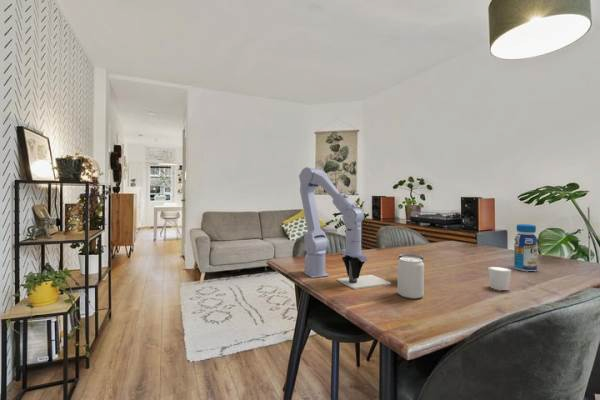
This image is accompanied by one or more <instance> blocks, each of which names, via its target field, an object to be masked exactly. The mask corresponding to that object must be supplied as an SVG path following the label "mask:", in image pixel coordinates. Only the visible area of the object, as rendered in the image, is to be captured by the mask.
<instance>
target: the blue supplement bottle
mask: <svg viewBox="0 0 600 400" xmlns="http://www.w3.org/2000/svg"><path fill="white" fill-rule="evenodd" d="M536 229H537V227H536V225H535V224H530V223H529V224H525V223H521V224H520V223H519V224H518V223H517V224H516V233H517V234H516V235H515V237H514V241H515V243H514V244H513V247H514V248H513V249H514V250H513V251H514V254H513V255H514V257H513V261H514V262H513V268H514V269H515V270H518V271H522V272H528V271H535V272H537V271H538V249H539V247H538V238H537V236H536V235H535V234H536V232H537V231H536Z"/></svg>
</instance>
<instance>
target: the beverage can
mask: <svg viewBox="0 0 600 400" xmlns="http://www.w3.org/2000/svg"><path fill="white" fill-rule="evenodd" d="M399 259H400V260H399ZM424 285H425V263H424V261H423V262H422V259H420V258H415V257H401V258H399V257H398V261H397V294H398V295H400V296H401V297H403V298H407V299H413V300H414V299H415V300H416V299H420V298H422V297H424V295H425V294H424V293H425V291H424V290H425V286H424Z"/></svg>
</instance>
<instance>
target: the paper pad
mask: <svg viewBox="0 0 600 400" xmlns="http://www.w3.org/2000/svg"><path fill="white" fill-rule="evenodd" d="M336 280H337V282H339V283H341V284H343V285H345V286H347V287H349V288H351V289H353V290H360V289H367V288H375V287H381V286H387V285H388V286H389V285H392V282H391V281H388V280H386V279H384V278H381V277H378V276H376V275H374V274H365V275H359V278H357V283H350V282H349V276H348V277H341V278H336Z"/></svg>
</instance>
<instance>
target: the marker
mask: <svg viewBox="0 0 600 400" xmlns="http://www.w3.org/2000/svg"><path fill="white" fill-rule="evenodd" d="M348 277H349V282H350V283H357V278H356V279H354V278H353V276H352V267H351V264H350V261H349V276H348Z"/></svg>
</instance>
